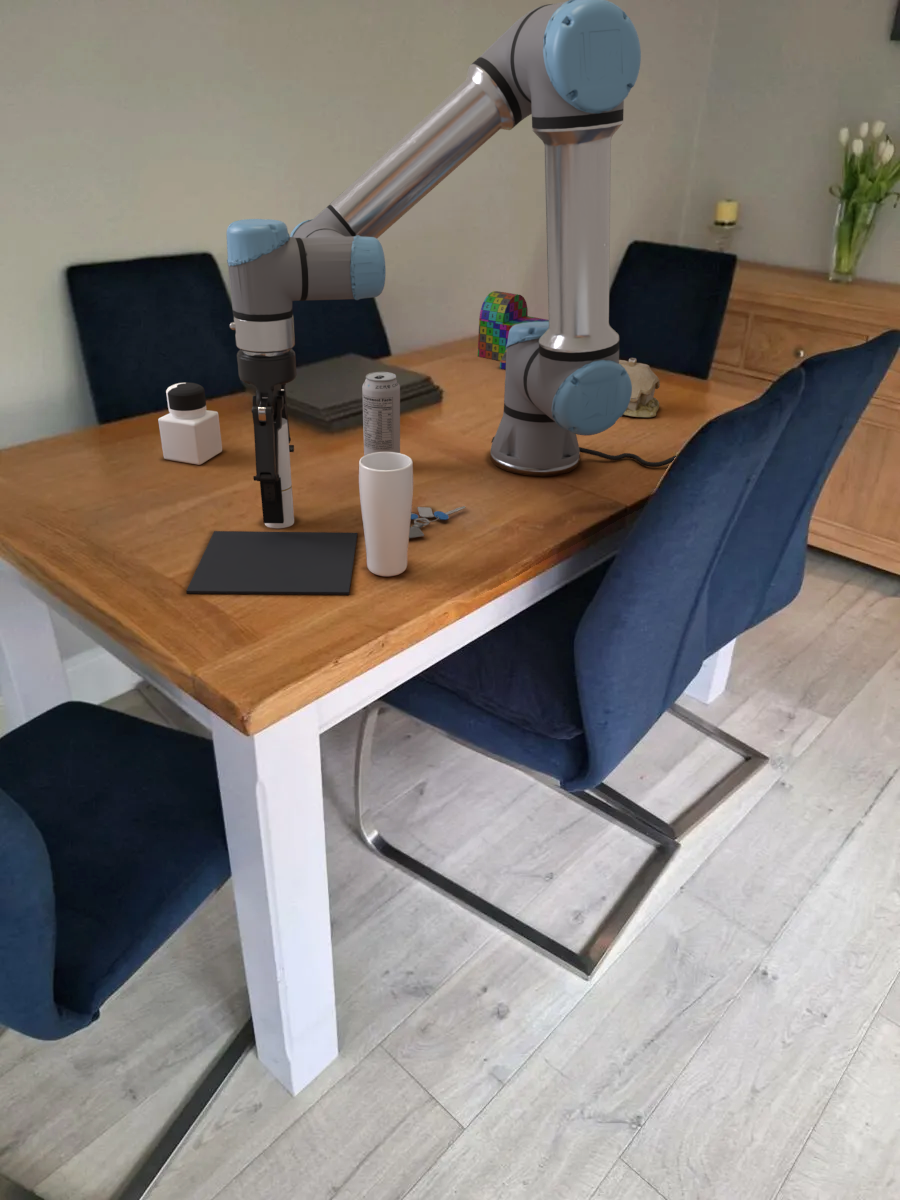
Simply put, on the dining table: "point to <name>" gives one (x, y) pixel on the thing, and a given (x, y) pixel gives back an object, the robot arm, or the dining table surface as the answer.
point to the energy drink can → (381, 413)
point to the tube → (284, 478)
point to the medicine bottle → (189, 426)
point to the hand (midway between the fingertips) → (278, 508)
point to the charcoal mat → (276, 563)
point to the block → (500, 323)
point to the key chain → (425, 513)
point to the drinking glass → (386, 510)
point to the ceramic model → (641, 389)
